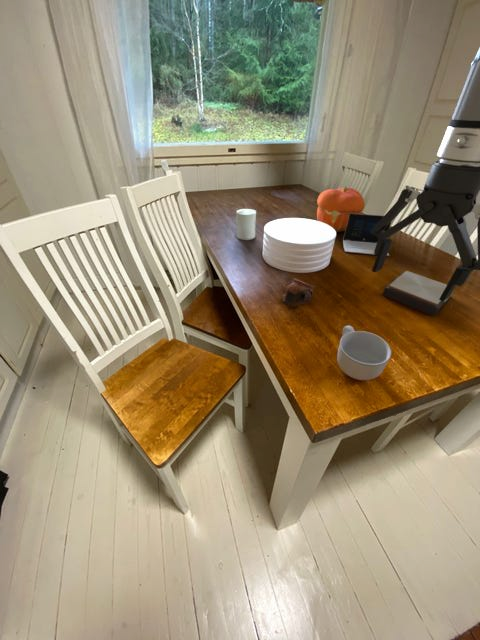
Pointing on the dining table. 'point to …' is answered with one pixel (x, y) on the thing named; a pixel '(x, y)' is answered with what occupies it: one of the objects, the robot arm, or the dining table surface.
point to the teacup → (362, 354)
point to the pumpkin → (338, 207)
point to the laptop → (361, 233)
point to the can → (246, 224)
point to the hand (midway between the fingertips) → (407, 283)
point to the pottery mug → (293, 290)
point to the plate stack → (298, 244)
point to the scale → (416, 292)
